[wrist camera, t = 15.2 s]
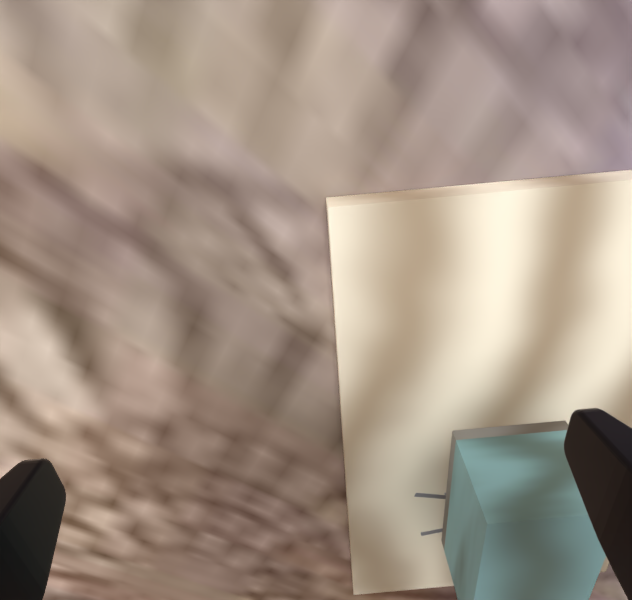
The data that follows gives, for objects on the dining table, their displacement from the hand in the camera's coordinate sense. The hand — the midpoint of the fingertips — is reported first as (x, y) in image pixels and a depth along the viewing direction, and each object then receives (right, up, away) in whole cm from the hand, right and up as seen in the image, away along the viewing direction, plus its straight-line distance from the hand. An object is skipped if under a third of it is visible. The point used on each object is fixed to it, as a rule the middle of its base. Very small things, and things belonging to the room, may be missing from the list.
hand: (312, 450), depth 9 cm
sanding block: (+10, -7, +18) cm, 22 cm away
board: (+9, -4, +17) cm, 20 cm away
